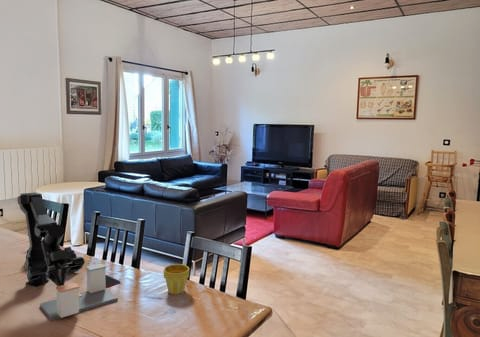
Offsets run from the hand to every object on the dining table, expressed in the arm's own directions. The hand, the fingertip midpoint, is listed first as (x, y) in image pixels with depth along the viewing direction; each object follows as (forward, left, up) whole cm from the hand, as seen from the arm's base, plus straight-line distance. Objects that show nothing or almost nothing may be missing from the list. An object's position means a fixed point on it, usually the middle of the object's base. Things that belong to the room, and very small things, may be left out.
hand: (62, 289), depth 135 cm
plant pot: (+30, +30, -8) cm, 43 cm away
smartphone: (-4, +28, -9) cm, 29 cm away
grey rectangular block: (+2, +16, -7) cm, 18 cm away
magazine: (-35, +31, -8) cm, 47 cm away
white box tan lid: (+5, -3, -7) cm, 9 cm away
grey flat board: (+2, +7, -8) cm, 11 cm away
